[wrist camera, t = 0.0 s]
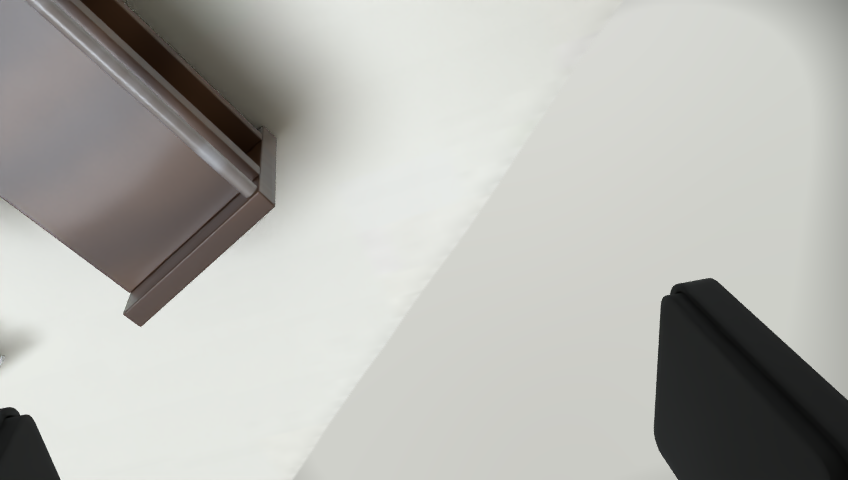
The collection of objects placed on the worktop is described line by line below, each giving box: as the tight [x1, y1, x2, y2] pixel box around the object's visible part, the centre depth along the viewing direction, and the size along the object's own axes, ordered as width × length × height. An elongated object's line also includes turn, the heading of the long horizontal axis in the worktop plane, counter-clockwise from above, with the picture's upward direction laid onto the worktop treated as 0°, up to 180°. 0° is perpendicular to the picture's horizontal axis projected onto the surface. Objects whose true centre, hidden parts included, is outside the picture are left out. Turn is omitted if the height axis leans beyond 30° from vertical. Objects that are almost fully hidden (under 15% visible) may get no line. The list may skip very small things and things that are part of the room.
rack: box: [0, 0, 277, 327], centre depth 39 cm, size 18×10×11 cm, turn 40°
